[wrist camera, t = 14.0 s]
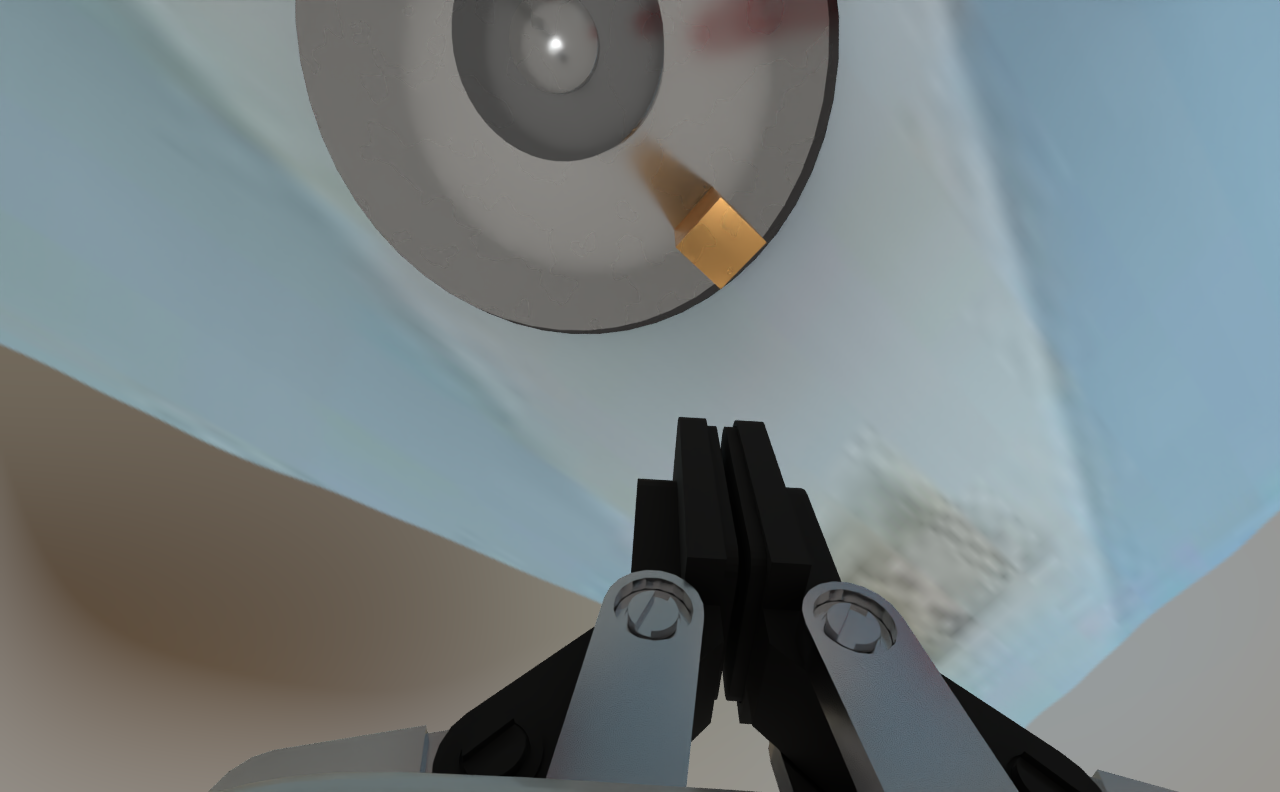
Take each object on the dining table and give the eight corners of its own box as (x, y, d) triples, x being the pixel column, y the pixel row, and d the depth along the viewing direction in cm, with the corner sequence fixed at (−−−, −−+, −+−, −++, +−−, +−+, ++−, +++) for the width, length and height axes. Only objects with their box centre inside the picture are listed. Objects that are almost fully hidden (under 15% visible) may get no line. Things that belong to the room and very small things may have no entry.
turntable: (242, 109, 25) (125, 104, 19) (513, -455, 17) (444, -715, 12) (600, 393, 30) (586, 451, 25) (922, 58, 23) (1001, 36, 18)
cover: (452, 66, 22) (400, 52, 18) (561, -104, 20) (532, -169, 15) (586, 192, 24) (569, 207, 20) (701, 51, 21) (710, 33, 17)
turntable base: (258, -291, 20) (239, -311, 19) (891, -263, 20) (902, -282, 19) (365, 314, 30) (356, 320, 29) (785, 340, 30) (789, 347, 29)
